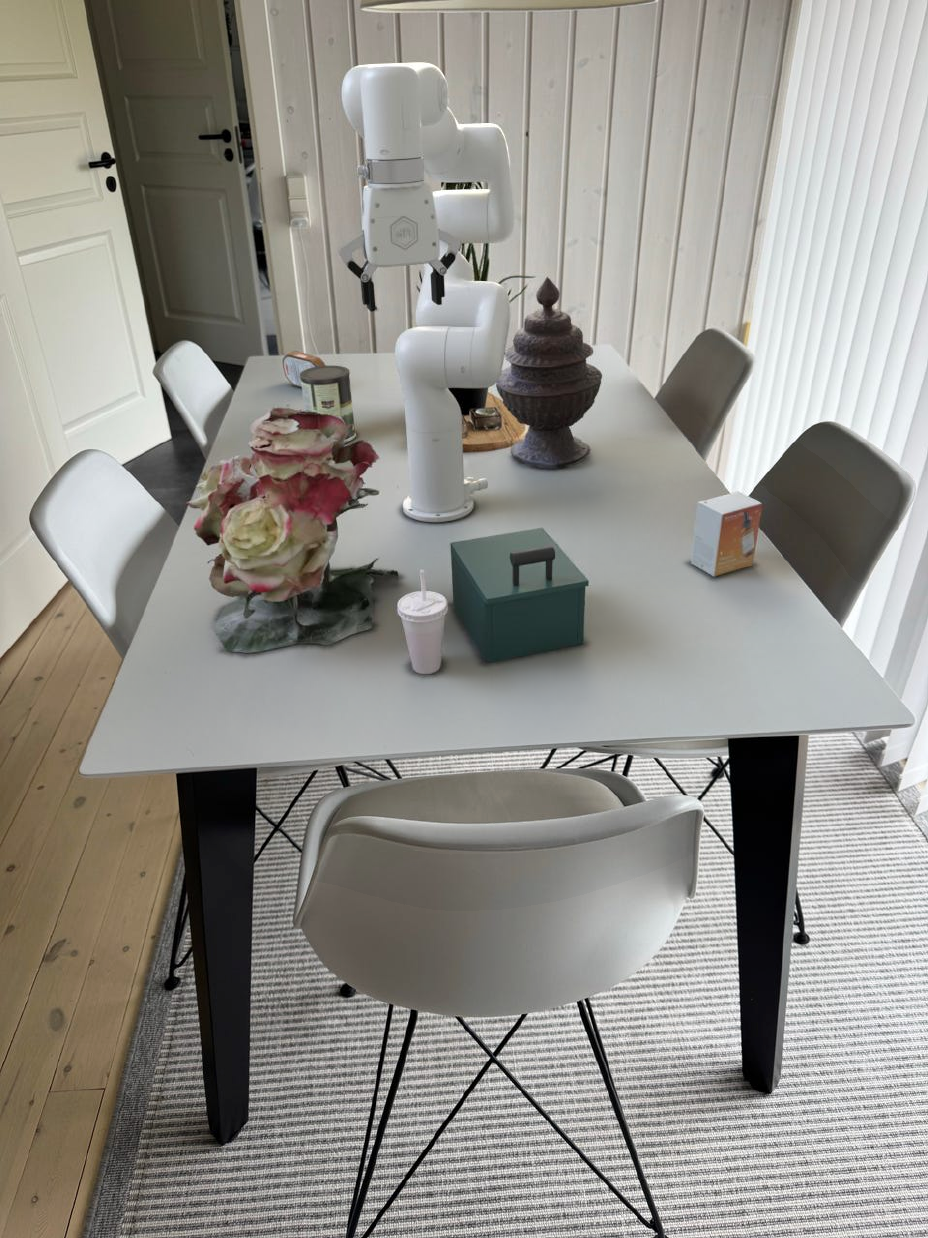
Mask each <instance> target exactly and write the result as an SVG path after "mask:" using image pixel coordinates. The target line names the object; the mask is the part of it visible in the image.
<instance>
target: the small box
mask: <svg viewBox="0 0 928 1238" xmlns="http://www.w3.org/2000/svg"><path fill="white" fill-rule="evenodd" d="M696 505H697V506H696V511H695V520H694V529H693V530H694V531H693V539H692V547H691V555H690V564H692V565H694V566H695V567H697V568H698V569H700V570H702V571H704V572H705V573H706V574H708V575H710V576H712V577H714V578H715V577H718V576H721V575H724V574H727V573H730V572H733V571H737V570H740V569H744V568H748V567H751V566H753V564H754V559H755V553H756V546H757V540H758V534H759V529H760V521H761V515H762V508H763V502H762V501H761V502H760V501H759V500H757V499H755V498H753V497H751V496H750V495H749V496H748V495H747V494H744V493H743V492H740V491H738V490H736V491H733V492H731V493H727V494H724V495H723V494H722V495H720V496H716V497H713V498H709V499H708V498H707V499H705V500H700V501H697V504H696Z"/></svg>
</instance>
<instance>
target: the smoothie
mask: <svg viewBox="0 0 928 1238" xmlns="http://www.w3.org/2000/svg"><path fill="white" fill-rule="evenodd" d="M419 573H420V575H419V576H420V590H418V591H413V592H410V593H407V594H405V595H403V596H402V597H400V599H399V600H398V601H397V615H398V616H399V617H400V618H401V623H402V627H403V631H404V636H405V640H406V645H407V649H408V653H409V658H410V662H411V667H412V670H413V671H414V672H416V673H417V674H421V675H430V674H434V673H436V672H438V671H439V670H440V668H441V664H442V653H443V641H444V630H445V621H446V620H445V618H446V614H447V612H448V609H449V606H448V600H447V598H446V597H445V596H444V595H443V594H442V593H439V592H436V591H433V590H432V591H431V590H427V588H426V572H425V569H420V570H419Z"/></svg>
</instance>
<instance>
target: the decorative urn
mask: <svg viewBox="0 0 928 1238" xmlns="http://www.w3.org/2000/svg"><path fill="white" fill-rule="evenodd" d="M535 298H536V302H537V303H538V304H539V305H541V306H542V308H540V309H537V310H535V311H534V312H532V313H530V314H528V315H526V317H525V318H524V323H523V327H521V328H520V329H518V330H516V332H515V333H514V336H513V340H512V342H513V345H512V346H509V347H508V348H507V349H505V355H504V359H505V360H506V361H507V362H508V363H510V366H507V367H506V368H504V369H502V371H501V374H500V377H499V379H498V381H497V382H496V383H495V388H496V391H497V393H498V395H499V397H500V398H501V399H502V404H503V406H504V407H505V408H506V410H507V411H508V412H510V414H511V415H512V416H513V417H514V418H515V419H516V421H517V422H518V424H522V425H526V426H528V430H527V432H526V433H525V435H524V438H523V439H521V440H519V441H517V442H515V443H514V444H512V446H510V451H509V452H510V454H511V455H512V457H513V458H514V459H516V460H517V461H519V462H520V463H524V464H526V465H528V466H532V467H535V468H539V469H540V468H541V469H548V470H556V469H562V468H566V467H570V466H573V465H576V464H578V463H579V462H581V461H583V460H584V459H585V458H587V456H588V455H590V454H591V451H592V450H591V446H590V445H589V444H587V443H586V442H583V441H582V439H579V438H578V437H576V436H574V435H573V432H572V430H571V427H572V426H574V425H575V424H576V423H578V422H579V421H580V420H581V419H583V418H584V416H585V415H586V413H587V412H588V411H589V410H590V409H591V408H592V407H593V405H594V403H595V400H596V397H597V396H598V394H599V392H600V388H601V385H602V379H603V374H602V372H601V370H599V369H598V368H597V367H596V366H595V365H592V364H589V363H587V359H588V358H589V357H591V356H593V354H594V348H593V347H592V346H591V345H590V344H588V343H586V342H584V334H583V331H582V330H581V328H580V327H578V326H576V325H575V324H573V323H572V318H571V315H570V314H568V313H567V312H565V311H563V310H560V309H558V308H554V307H553V306H554V305H555V304H557V303H558V301H559V299H560V291H559V288H557V286H556V284H554V283H553V281H552V280H551V279H550V278H549V277H548V276H546V278H545V279H544V280H543V282H542V284H541V285H540V286H539V288H538V290H537V292H536V295H535Z"/></svg>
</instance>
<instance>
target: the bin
mask: <svg viewBox="0 0 928 1238" xmlns="http://www.w3.org/2000/svg"><path fill="white" fill-rule="evenodd" d="M450 561H451V562H450V564H451V566H450V567H451V583H452V585H451V586H452V606H453V607H454V609H455V611H456V613H457V614H458V616H459V618H460V620H461V622H462V623H463V625H464V627H465V629H466V630H467V632H468V634H469V635H470V637H471V639H472V640H473V642H474V644H475V646H476V647H477V649H478V651H479V653H480V655H481V657H482V659H484V661H485V663H486V664H487V663H492V662H497V661H503V660H508V659H512V658H517V657H523V656H528V655H533V654H537V653H544V652H548V651H553V650H558V649H564V648H568V647H573V646H574V647H575V646H578V645H583V644H584V632H585V631H584V630H585V610H586V609H585V606H586V587H580V588H575V589H569V590H564V591H558V592H553V593H547V594H542V595H536V596H531V597H525V598H520V599H514V600H509V601H503V602H498V603H492V604H486V602H485V601H484V599H483V598H482V596H481V594H480V593H479V591H478V590H477V588H476V587H475V585H474V584H473V582H472V580H471V579H470V577H469V576H468V574H467V573H466V571H465V569H464V568H463V566H462V565H461V563H460V562H459V560H458V558H457V557H456V555H455V554H454V552H453V551H452V549H451V548H450Z"/></svg>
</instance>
